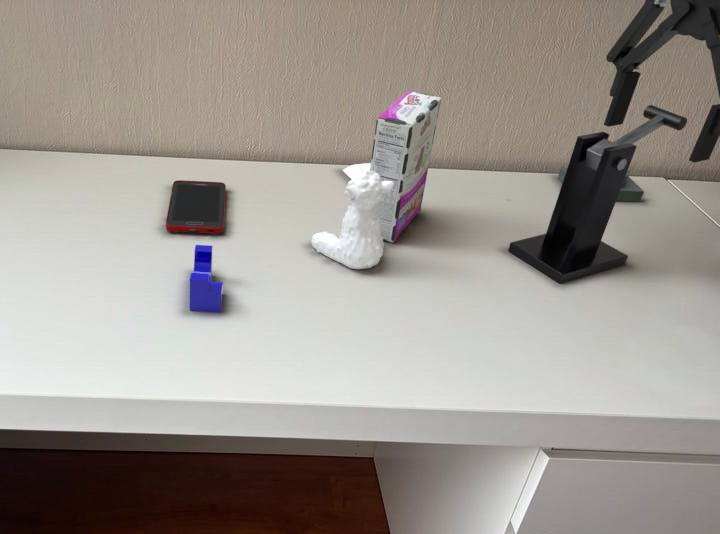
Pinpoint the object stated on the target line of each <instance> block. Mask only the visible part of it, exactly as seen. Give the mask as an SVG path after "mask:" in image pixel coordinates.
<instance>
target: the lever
mask: <svg viewBox="0 0 720 534" xmlns="http://www.w3.org/2000/svg"><path fill="white" fill-rule="evenodd" d="M642 115H643V118H645V119H648V120H647V121H645V122H644V123H642V124H641V125H639V126H637V127H635V128H634V129H632V130H631V131H628V132H627V133H626V134H624V135H622V136H620V137H619V138H617V139H616V140H614V141H611V140H609V139H608V140H606V139H603V140H601V141H600V142H598V143H596V144H595V145H593V146H591V147H590V148H588V149H587V153H586V166H587V167H589V168H591V169H593V170H595V171H597V168H598V165H599V163H600V160H601V157H602V154H603V151H604V148H608V147H613V146H618V145H623V144H628V143H631V144H633V145H634V144H635V143H636V142H638V141H639V140H641V139H643V138H645V137H646V136H648V135H649V134H651V133H653V132H655V131H656V130H658V129H659V128H661V127H663V126H666V127H669V128H670V129H674V130H676V131H682V130H683V129H685V127H686V126H687V123H688V118H687V117H685V116H683V115H679V114H677V113H674V112H672V111H669V110H666V109H663V108H661V107H658V106H656V105H654V104H648V105H647V106H646V107H645V108H644V111H643V113H642Z"/></svg>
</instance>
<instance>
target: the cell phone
mask: <svg viewBox="0 0 720 534" xmlns="http://www.w3.org/2000/svg"><path fill="white" fill-rule="evenodd" d="M226 192H227V185H226V183H224V182H221V181H204V180H203V181H201V180H185V179H183V180H181V179H180V180H174V181H173V183H172V187H171V192H170V197H169V203H168V209H167V214H166V219H165V229H166V231H169V232H173V233H174V232H175V233H198V234H222V233H223V232H224V230H225V219H226V217H225V216H226V215H225V214H226Z"/></svg>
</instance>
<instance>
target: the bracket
mask: <svg viewBox="0 0 720 534" xmlns="http://www.w3.org/2000/svg"><path fill="white" fill-rule="evenodd" d="M609 137H610V134H609V133H608V132H605V131H599V132H594V133H588V134H583V135H578V136H577V138H576V141H575V143H574V147H573V150H572V153H571V156H570V159H569V161H568V165H567V167H566V168H567V171H566V174H565V177H564V180H563V183H562V182H561V183H562V184H561V187H560V189H559V192H558V196H557V199H556V202H555V205H554V208H553V211H552V214H551V218H550V220H549V223H548V226H547V229H546V233H543V234H539V235H536V236H530V237H527V238H523V239H519V240H514V241H511V242H510V243H509V246H508V249H507V250H508V252H509V253H511V254H512V255H514V256H515V257H517V258H518V259H520V260H522V261H523V262H525V263H526V264H528V265H529V266H531V267H533V268H534V269H536V270H538V271H539V272H540V273H542V274H544V275H545V276H547V277H548V278H550V279H552V280H553V281H555V282H556V283H558V284H563V283H566V282H569V281H573V280H577V279H581V278H583V277H586V276H590V275H593V274H597V273H600V272H604V271H607V270H610V269H614V268H617V267H621V266H625V265H626V263H627V260H628V258H629V255H628V254H625V253H624V252H622V251H620V250H618V249H616V248H615V247H613V246H611V245H609V244H608V243H606V242H604V241H602V239H603V237H604V234H605V232H606V229H607V226H608V224H609V221H610V218H611V216H612V213H613V210H614V207H615V205H616V203H617V201H616V200H617V197H618V195H619V192H620V189H621V187H622V184H623V181H624V179H625V176H626V173H627V171H628V170H629V169H630V165H631V163H632V160H633V157H634V155H635V152H636V150H637V145H635V144H634V143H633V144H631V143H628V144H623V145H618V146H613V147H608V148H604V151H603V154H602V157H601V160H600V163H599V165H598V168H597V171H595V170H593V169H591V168H589V167H587V166H586V153H587V149H588V148H590V147H591V146H593V145H595V144H596V143H598V142H600V141H601V140H603V139H606V140H609Z"/></svg>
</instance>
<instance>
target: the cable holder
mask: <svg viewBox="0 0 720 534" xmlns="http://www.w3.org/2000/svg"><path fill="white" fill-rule="evenodd" d="M213 247H214V246H213V245H207V244H206V245H205V244H195V246H194V257H193V258H194V260H193V272H190V277H189V311H193V312H195V311H196V312H210V313H211V312H213V313H221V312H222V304H223V292H224V290H223V289H224V282H223V281H212V276H213V250H214V249H213Z"/></svg>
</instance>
